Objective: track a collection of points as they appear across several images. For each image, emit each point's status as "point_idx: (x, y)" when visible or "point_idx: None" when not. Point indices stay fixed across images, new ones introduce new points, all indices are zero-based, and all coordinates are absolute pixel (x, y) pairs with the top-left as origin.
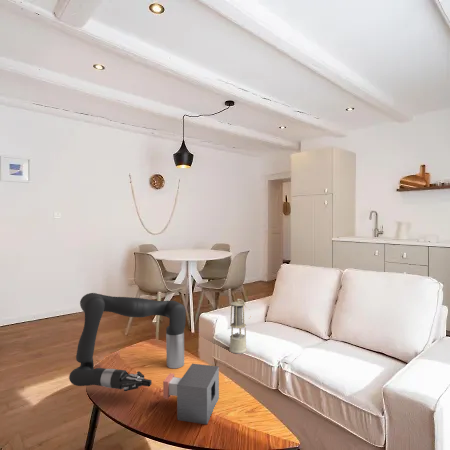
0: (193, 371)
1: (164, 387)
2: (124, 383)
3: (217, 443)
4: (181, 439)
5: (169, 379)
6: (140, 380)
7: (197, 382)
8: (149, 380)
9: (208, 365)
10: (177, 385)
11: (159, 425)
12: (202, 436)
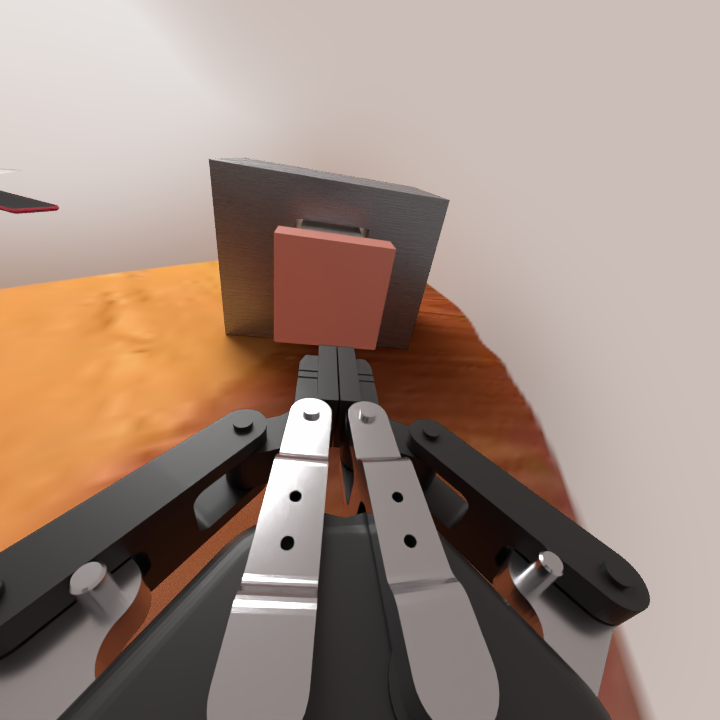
0: (307, 173)
1: (386, 286)
2: (574, 675)
3: (435, 293)
4: (473, 333)
5: (359, 237)
6: (373, 410)
7: (392, 185)
8: (335, 349)
9: (236, 158)
10: (447, 203)
11: (468, 384)
12: (433, 307)
